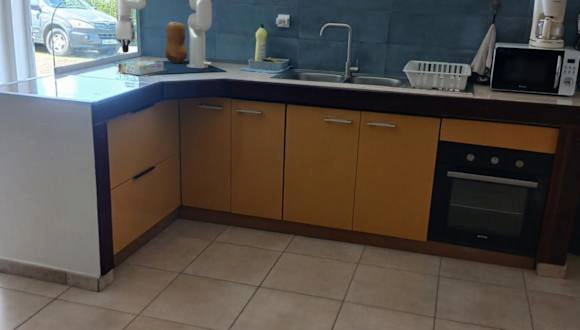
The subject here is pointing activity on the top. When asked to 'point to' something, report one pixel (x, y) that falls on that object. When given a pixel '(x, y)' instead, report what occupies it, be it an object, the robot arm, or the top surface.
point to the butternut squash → (175, 42)
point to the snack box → (141, 67)
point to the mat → (146, 74)
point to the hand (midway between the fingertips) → (125, 52)
